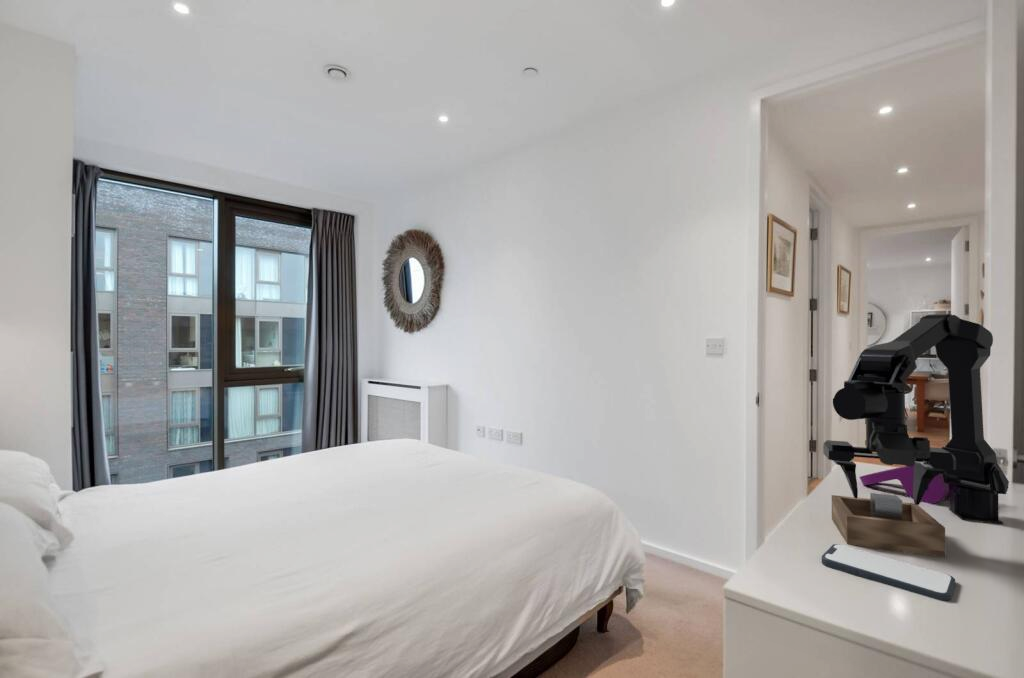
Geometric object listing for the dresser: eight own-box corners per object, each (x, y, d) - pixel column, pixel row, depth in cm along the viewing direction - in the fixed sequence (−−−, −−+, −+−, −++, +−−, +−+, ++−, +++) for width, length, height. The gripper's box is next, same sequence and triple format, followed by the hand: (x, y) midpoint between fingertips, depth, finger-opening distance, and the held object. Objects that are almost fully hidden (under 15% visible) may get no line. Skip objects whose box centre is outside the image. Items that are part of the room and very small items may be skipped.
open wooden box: (916, 529, 94) (916, 503, 94) (945, 557, 82) (945, 527, 82) (831, 519, 100) (831, 495, 100) (847, 544, 88) (847, 516, 88)
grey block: (890, 526, 93) (890, 490, 93) (902, 539, 87) (902, 500, 87) (865, 523, 95) (865, 487, 95) (875, 535, 89) (875, 497, 89)
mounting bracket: (868, 513, 120) (951, 500, 105) (851, 478, 123) (930, 461, 109) (887, 506, 124) (970, 493, 110) (871, 473, 127) (949, 456, 113)
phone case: (956, 586, 74) (834, 550, 86) (956, 575, 74) (834, 541, 86) (949, 608, 68) (819, 567, 80) (949, 596, 68) (819, 557, 80)
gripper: (835, 420, 86) (835, 508, 86) (971, 427, 78) (971, 523, 78) (822, 411, 96) (822, 490, 96) (942, 416, 89) (942, 502, 89)
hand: (885, 500), depth 89 cm, fingers open, 9 cm apart
